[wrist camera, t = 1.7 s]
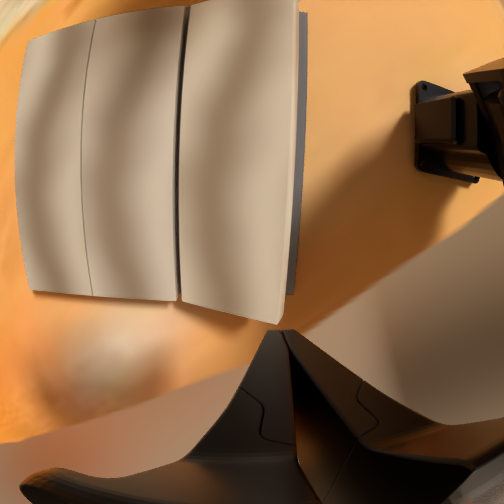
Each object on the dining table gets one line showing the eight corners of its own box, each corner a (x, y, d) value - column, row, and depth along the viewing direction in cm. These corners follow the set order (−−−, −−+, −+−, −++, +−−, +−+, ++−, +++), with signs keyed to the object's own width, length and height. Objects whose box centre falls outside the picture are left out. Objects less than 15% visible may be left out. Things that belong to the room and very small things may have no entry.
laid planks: (187, 13, 13) (184, 5, 12) (179, 292, 19) (176, 301, 18) (36, 45, 13) (28, 41, 12) (37, 283, 18) (29, 289, 17)
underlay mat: (306, 14, 14) (307, 12, 14) (292, 292, 20) (293, 294, 19) (38, 40, 13) (36, 40, 13) (38, 281, 18) (36, 283, 18)
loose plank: (298, -3, 11) (293, -13, 10) (283, 315, 17) (277, 324, 16) (201, 12, 13) (191, 4, 12) (192, 294, 19) (181, 301, 18)
